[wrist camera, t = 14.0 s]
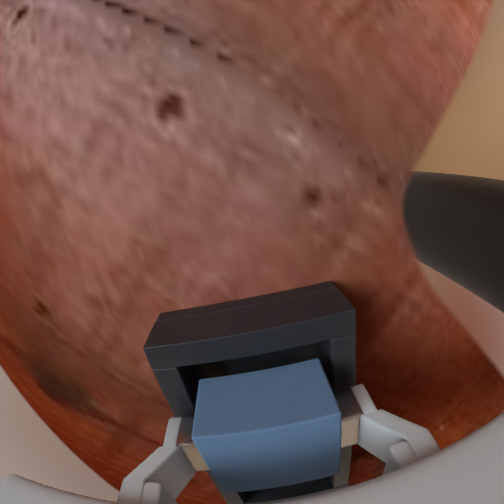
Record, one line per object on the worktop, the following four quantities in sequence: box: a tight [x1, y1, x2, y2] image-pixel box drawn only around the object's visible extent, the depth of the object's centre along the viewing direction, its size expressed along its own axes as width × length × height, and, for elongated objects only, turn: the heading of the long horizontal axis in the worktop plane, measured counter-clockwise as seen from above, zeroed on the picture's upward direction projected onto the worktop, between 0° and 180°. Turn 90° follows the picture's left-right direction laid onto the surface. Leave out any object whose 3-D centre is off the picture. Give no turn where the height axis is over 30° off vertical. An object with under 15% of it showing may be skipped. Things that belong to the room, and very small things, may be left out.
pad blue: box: [192, 358, 342, 493], centre depth 9 cm, size 4×4×3 cm
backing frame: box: [143, 281, 356, 504], centre depth 13 cm, size 8×14×3 cm, turn 10°
